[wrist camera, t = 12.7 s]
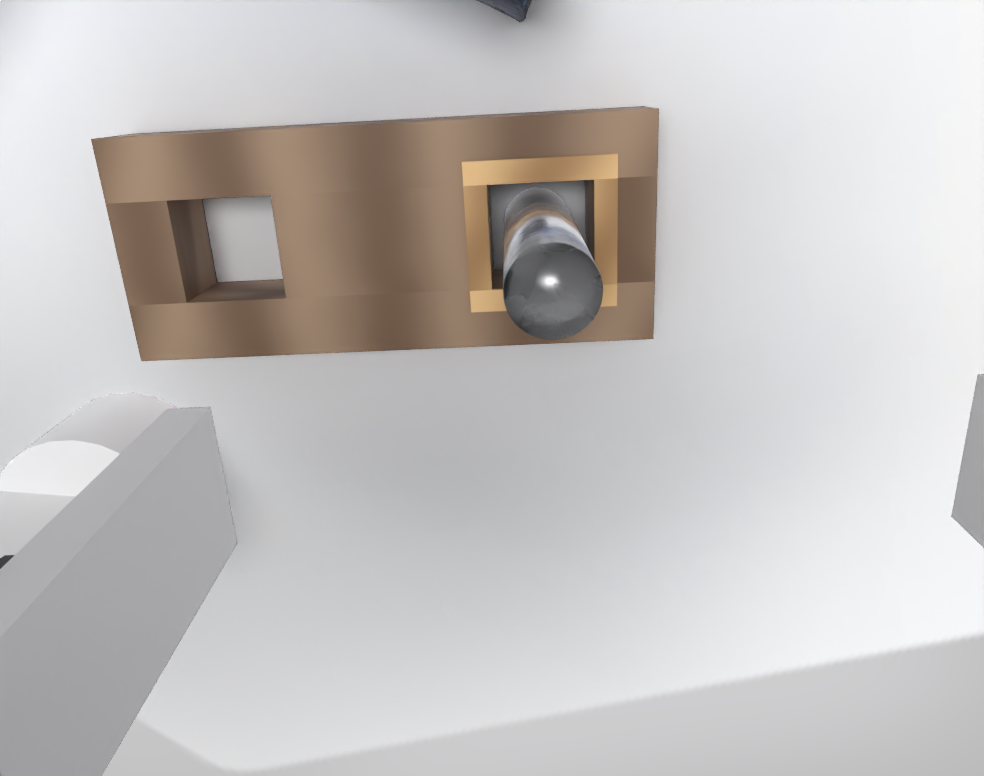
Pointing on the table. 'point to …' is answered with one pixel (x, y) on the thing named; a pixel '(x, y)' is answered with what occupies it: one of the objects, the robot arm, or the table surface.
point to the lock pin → (547, 268)
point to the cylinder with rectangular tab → (68, 462)
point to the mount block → (373, 229)
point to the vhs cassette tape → (510, 7)
